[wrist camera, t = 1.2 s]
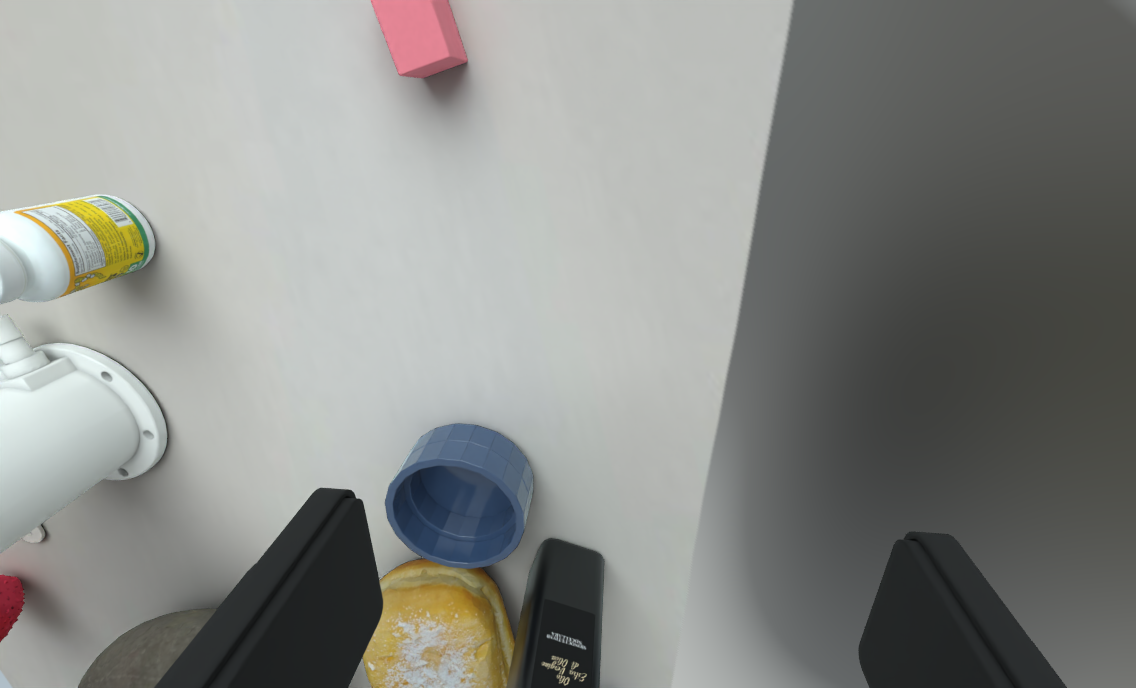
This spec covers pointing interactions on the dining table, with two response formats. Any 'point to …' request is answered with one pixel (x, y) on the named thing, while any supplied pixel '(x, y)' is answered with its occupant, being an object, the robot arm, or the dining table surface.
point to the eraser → (420, 35)
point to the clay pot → (145, 651)
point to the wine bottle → (560, 620)
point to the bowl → (461, 497)
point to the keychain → (35, 535)
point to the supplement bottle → (70, 246)
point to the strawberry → (10, 603)
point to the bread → (440, 630)
